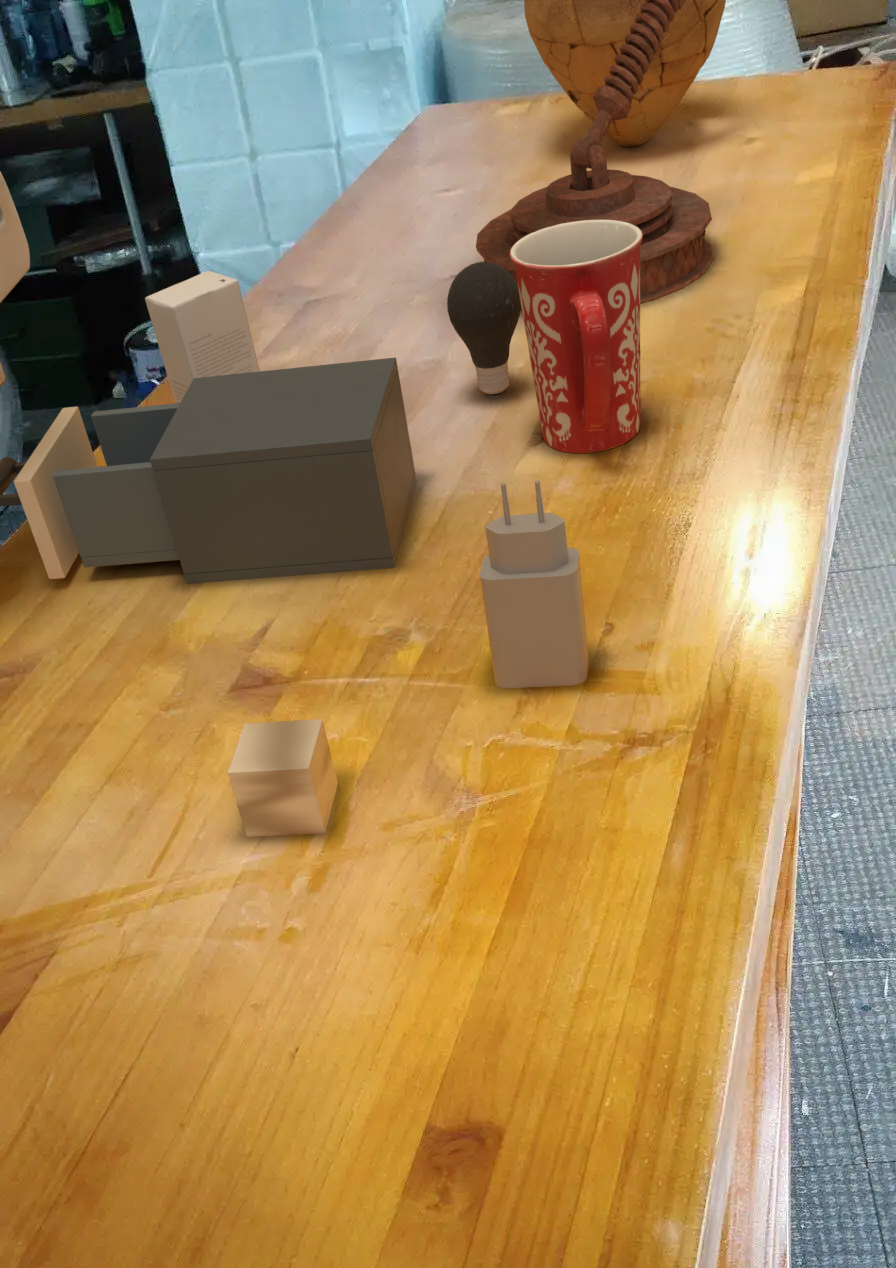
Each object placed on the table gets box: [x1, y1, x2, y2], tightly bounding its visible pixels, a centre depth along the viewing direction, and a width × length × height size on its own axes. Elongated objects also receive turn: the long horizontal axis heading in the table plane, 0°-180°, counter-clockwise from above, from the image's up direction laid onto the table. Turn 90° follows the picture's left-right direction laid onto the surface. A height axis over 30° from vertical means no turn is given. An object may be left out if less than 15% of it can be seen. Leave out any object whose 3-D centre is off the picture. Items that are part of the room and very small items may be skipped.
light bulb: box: [446, 261, 522, 398], centre depth 112 cm, size 6×6×10 cm
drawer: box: [0, 402, 180, 580], centre depth 103 cm, size 18×11×7 cm, turn 84°
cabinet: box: [150, 357, 417, 585], centre depth 101 cm, size 15×13×9 cm
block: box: [227, 718, 339, 838], centre depth 79 cm, size 4×4×4 cm
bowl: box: [523, 0, 727, 148], centre depth 151 cm, size 21×20×20 cm
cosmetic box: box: [144, 270, 261, 403], centre depth 113 cm, size 6×4×12 cm
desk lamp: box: [475, 0, 714, 312], centre depth 118 cm, size 21×32×40 cm, turn 132°
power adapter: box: [479, 479, 590, 689], centre depth 82 cm, size 3×5×12 cm, turn 82°
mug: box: [510, 220, 643, 454], centre depth 103 cm, size 13×9×14 cm
